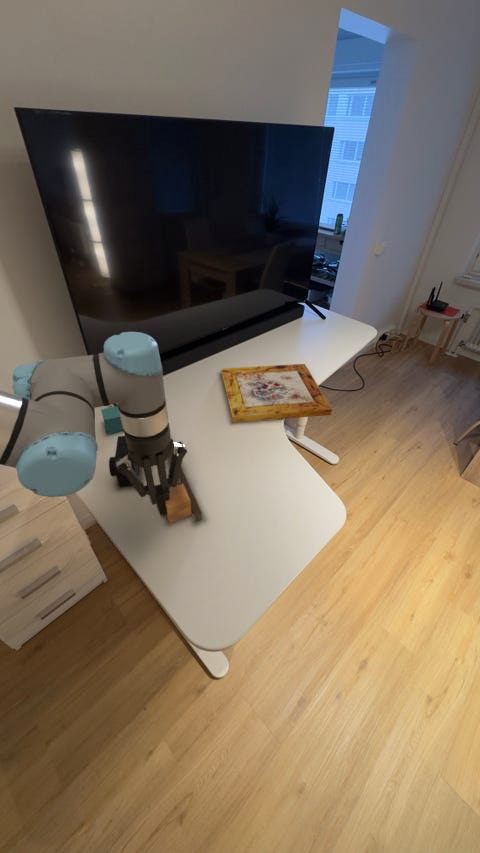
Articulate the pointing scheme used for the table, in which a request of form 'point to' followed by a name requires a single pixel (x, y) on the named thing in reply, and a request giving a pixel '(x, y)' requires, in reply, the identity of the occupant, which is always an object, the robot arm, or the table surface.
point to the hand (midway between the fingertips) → (162, 509)
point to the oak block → (178, 503)
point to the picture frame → (272, 393)
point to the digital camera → (121, 454)
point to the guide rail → (189, 494)
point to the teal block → (112, 419)
